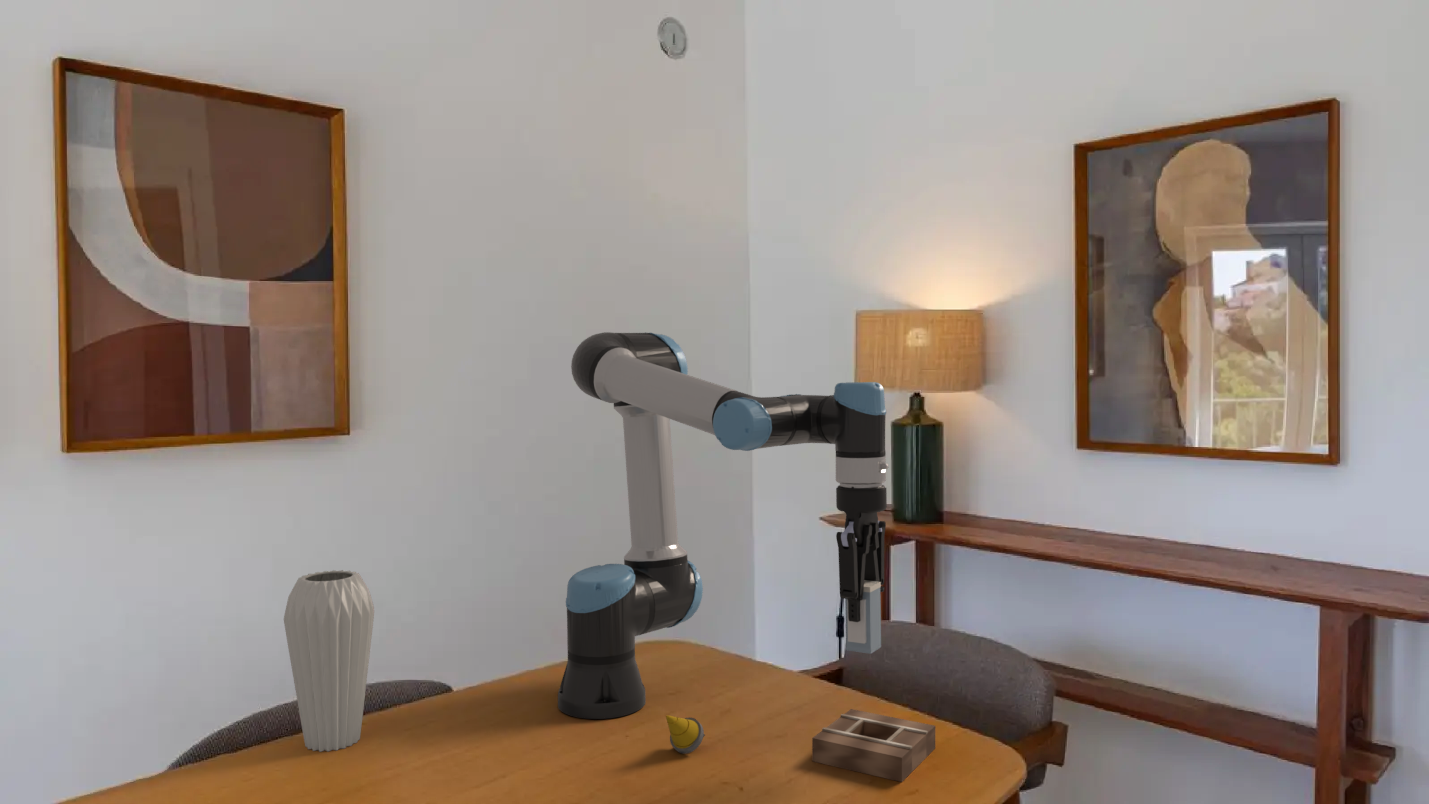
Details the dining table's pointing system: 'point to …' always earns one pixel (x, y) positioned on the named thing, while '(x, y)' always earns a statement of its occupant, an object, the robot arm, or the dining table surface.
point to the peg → (869, 619)
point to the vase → (330, 655)
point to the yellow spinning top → (685, 733)
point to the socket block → (874, 744)
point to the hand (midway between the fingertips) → (863, 637)
